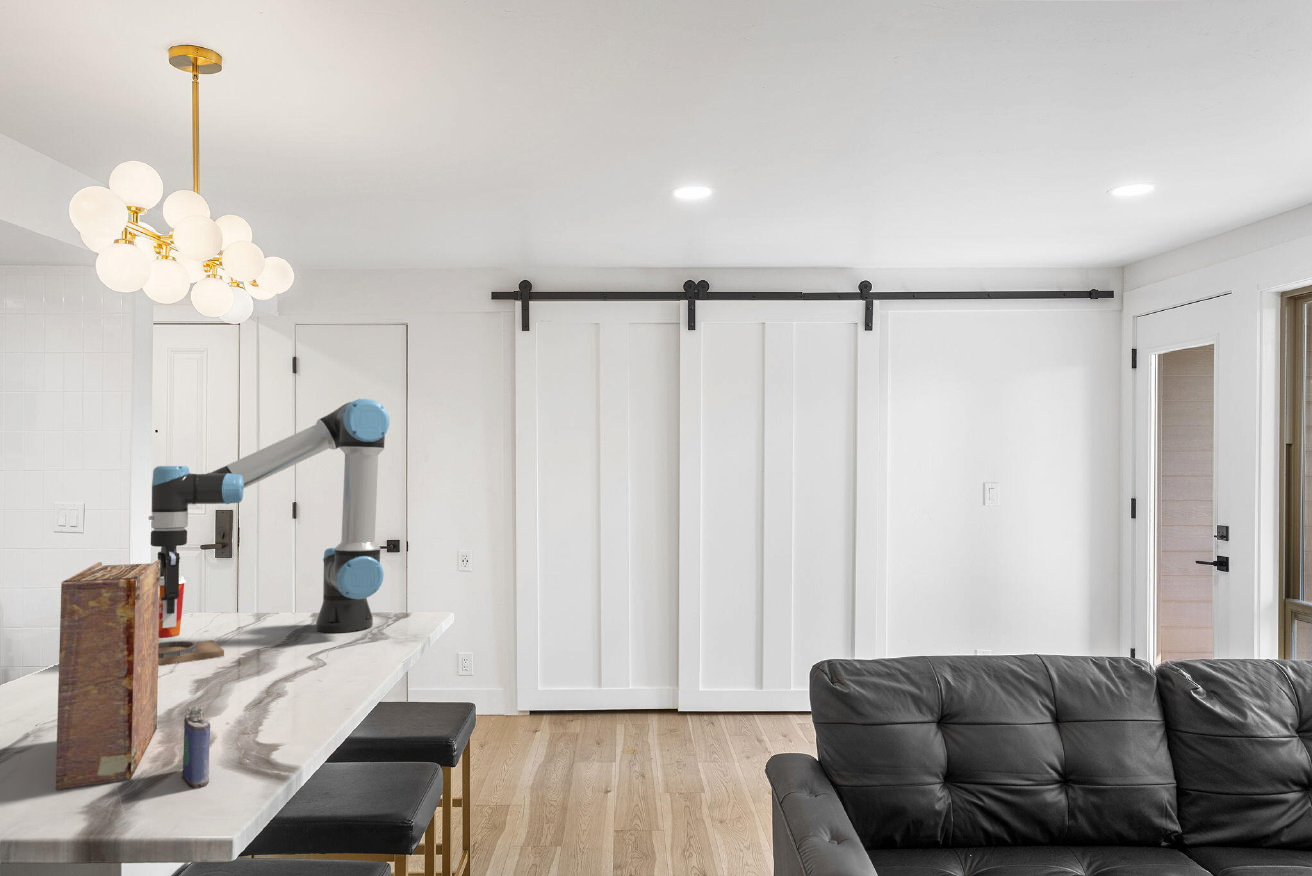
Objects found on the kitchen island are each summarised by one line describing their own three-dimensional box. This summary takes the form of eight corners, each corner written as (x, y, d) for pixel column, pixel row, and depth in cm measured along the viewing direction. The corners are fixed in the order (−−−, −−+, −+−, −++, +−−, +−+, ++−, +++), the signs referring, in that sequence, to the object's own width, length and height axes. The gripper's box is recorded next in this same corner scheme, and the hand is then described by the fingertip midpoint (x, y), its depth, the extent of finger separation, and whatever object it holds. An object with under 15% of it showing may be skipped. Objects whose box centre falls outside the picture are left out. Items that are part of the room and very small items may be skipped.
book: (95, 735, 135) (99, 561, 136) (157, 727, 139) (161, 559, 140) (54, 791, 112) (60, 582, 113) (131, 780, 116) (136, 578, 117)
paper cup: (139, 637, 185) (140, 578, 186) (168, 631, 193) (169, 574, 193) (164, 640, 183) (166, 580, 184) (192, 633, 190) (194, 575, 191)
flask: (210, 785, 114) (212, 711, 114) (187, 790, 112) (189, 715, 113) (200, 766, 121) (201, 697, 122) (178, 771, 119) (179, 700, 120)
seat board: (211, 646, 200) (211, 635, 200) (223, 656, 190) (224, 645, 190) (107, 659, 186) (107, 648, 186) (114, 671, 175) (115, 659, 176)
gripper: (144, 527, 194) (142, 620, 193) (157, 532, 179) (154, 633, 178) (179, 525, 199) (177, 616, 198) (195, 531, 184) (192, 629, 183)
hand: (166, 624), depth 188 cm, fingers closed on paper cup, 7 cm apart
